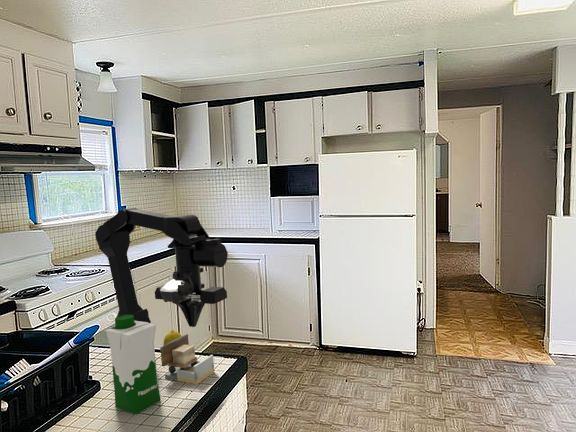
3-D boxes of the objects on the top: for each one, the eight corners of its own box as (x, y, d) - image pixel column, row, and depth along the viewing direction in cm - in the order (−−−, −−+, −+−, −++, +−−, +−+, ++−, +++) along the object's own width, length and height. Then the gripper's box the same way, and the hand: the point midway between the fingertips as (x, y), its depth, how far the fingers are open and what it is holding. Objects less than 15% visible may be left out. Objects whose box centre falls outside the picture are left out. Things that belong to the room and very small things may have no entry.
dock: (165, 378, 115) (163, 361, 114) (184, 366, 121) (182, 350, 121) (196, 384, 110) (195, 366, 110) (214, 371, 117) (213, 355, 116)
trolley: (162, 376, 113) (159, 347, 112) (187, 361, 122) (185, 333, 121) (178, 379, 111) (176, 349, 110) (203, 363, 120) (201, 335, 119)
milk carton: (140, 391, 108) (133, 310, 106) (167, 399, 103) (160, 314, 101) (109, 408, 100) (100, 321, 99) (136, 418, 96) (127, 326, 94)
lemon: (181, 360, 125) (179, 333, 125) (162, 361, 125) (159, 334, 125) (186, 353, 131) (184, 326, 130) (167, 354, 131) (165, 327, 130)
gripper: (136, 270, 109) (141, 333, 111) (198, 274, 101) (203, 341, 102) (167, 262, 119) (172, 319, 121) (226, 264, 111) (230, 326, 112)
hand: (192, 326), depth 114 cm, fingers closed
